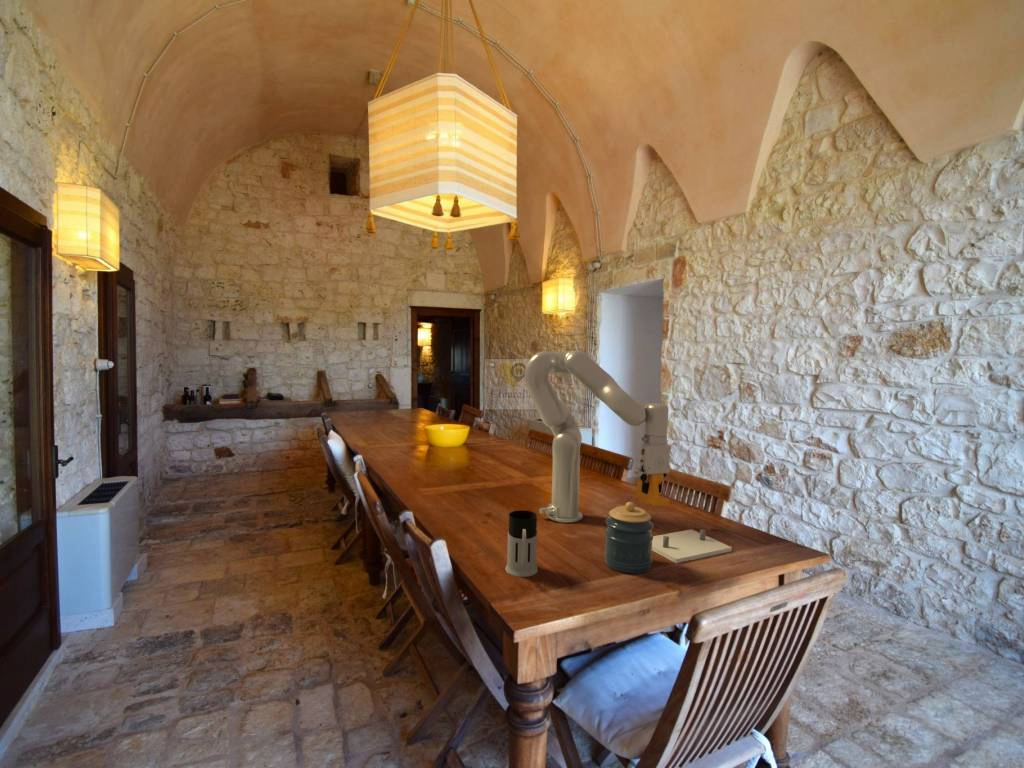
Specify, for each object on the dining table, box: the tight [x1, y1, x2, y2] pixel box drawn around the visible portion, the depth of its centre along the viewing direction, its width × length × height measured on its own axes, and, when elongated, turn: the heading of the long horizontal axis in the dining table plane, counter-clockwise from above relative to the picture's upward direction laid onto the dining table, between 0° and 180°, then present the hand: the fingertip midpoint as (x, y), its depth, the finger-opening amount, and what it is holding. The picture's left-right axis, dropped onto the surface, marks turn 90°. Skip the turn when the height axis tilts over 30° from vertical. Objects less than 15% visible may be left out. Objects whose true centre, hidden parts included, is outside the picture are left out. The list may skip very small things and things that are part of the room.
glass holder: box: [504, 509, 538, 578], centre depth 129 cm, size 9×14×15 cm, turn 2°
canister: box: [603, 501, 654, 574], centre depth 136 cm, size 13×13×18 cm
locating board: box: [652, 528, 733, 564], centre depth 149 cm, size 22×16×4 cm
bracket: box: [633, 474, 671, 507], centre depth 168 cm, size 11×7×12 cm, turn 23°
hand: (651, 491), depth 168 cm, fingers closed on bracket, 4 cm apart
